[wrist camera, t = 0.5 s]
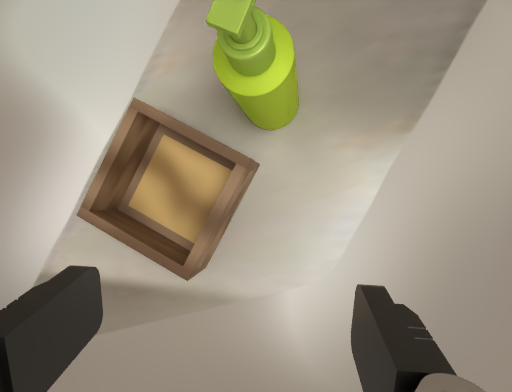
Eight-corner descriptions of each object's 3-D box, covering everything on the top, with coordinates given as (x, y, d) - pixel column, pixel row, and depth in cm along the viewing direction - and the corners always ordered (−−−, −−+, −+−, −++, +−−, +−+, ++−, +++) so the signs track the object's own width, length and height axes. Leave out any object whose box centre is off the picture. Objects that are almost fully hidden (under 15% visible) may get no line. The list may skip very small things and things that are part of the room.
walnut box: (160, 111, 39) (133, 97, 33) (259, 164, 38) (250, 158, 32) (110, 212, 40) (76, 215, 34) (205, 267, 39) (187, 280, 33)
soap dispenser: (312, 79, 37) (318, -54, 17) (284, 138, 37) (257, 76, 17) (263, 58, 38) (214, -93, 18) (236, 116, 38) (159, 32, 18)
